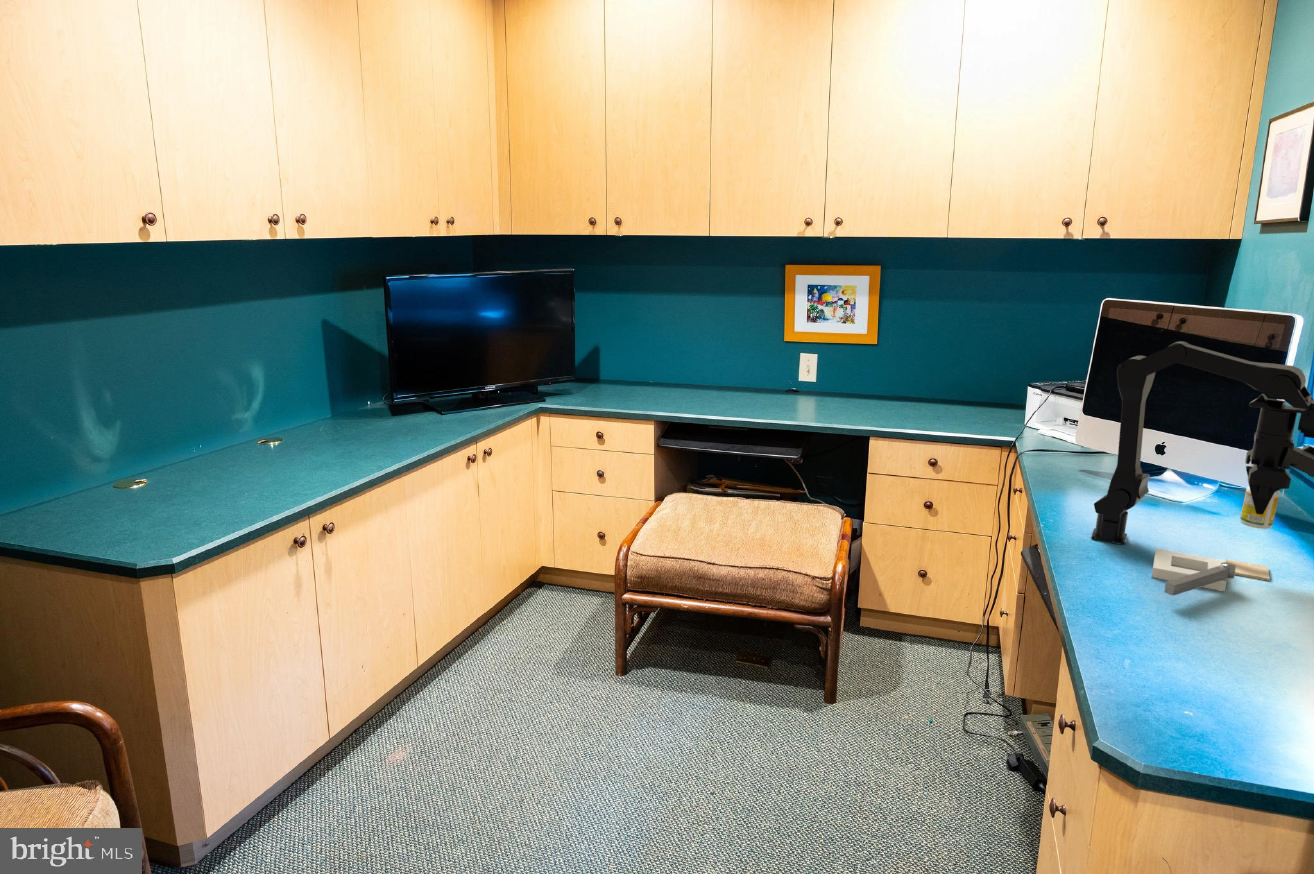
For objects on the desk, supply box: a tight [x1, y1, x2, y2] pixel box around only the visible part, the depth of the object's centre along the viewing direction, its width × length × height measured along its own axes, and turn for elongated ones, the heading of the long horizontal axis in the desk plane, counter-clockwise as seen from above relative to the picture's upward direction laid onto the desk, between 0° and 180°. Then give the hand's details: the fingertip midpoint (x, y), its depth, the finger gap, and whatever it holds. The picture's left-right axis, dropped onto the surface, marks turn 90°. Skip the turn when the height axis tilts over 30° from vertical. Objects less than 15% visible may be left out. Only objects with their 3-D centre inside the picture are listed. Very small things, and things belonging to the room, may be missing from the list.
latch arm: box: [1163, 561, 1236, 597], centre depth 160 cm, size 19×2×2 cm, turn 118°
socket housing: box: [1151, 547, 1227, 592], centre depth 170 cm, size 12×12×2 cm
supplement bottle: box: [1239, 485, 1280, 530], centre depth 168 cm, size 5×5×10 cm
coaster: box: [1225, 558, 1271, 582], centre depth 172 cm, size 7×7×1 cm
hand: (1258, 509), depth 169 cm, fingers closed on supplement bottle, 5 cm apart
